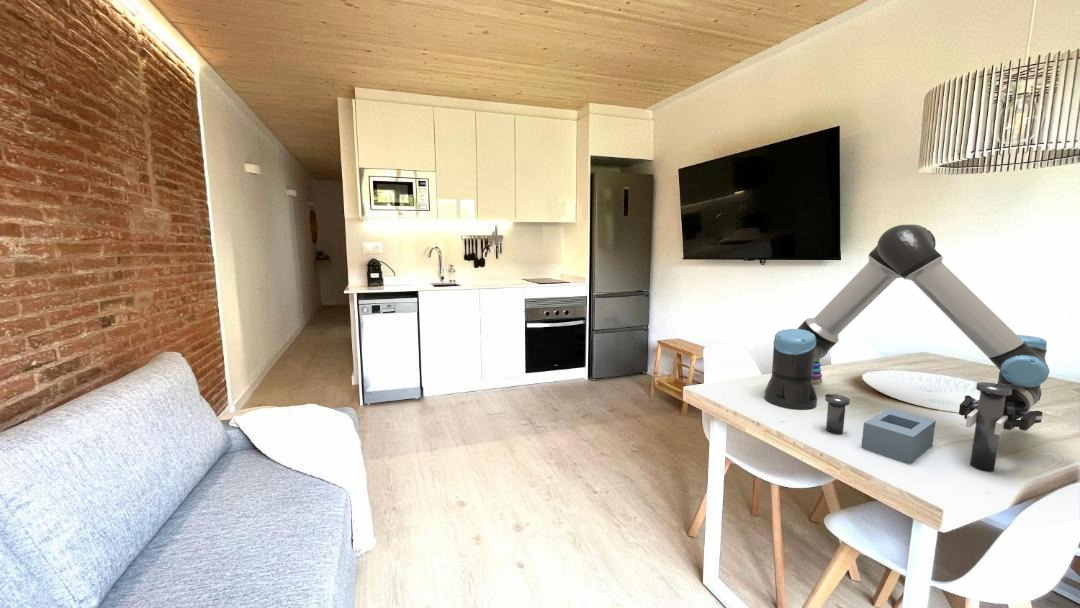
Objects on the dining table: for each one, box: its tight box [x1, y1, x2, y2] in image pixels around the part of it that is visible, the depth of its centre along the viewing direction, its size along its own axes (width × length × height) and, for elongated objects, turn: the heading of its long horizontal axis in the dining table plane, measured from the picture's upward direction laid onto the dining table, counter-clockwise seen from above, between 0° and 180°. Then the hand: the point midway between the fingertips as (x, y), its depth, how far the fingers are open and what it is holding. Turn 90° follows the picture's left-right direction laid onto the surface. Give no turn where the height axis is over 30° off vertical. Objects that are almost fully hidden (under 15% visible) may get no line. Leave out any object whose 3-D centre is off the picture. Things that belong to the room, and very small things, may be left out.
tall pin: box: [969, 381, 1012, 473], centre depth 100 cm, size 6×6×20 cm
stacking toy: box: [812, 359, 823, 385], centre depth 160 cm, size 8×8×19 cm
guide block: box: [861, 407, 937, 465], centre depth 111 cm, size 16×10×7 cm, turn 123°
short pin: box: [824, 393, 851, 435], centre depth 120 cm, size 6×6×10 cm
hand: (982, 425), depth 97 cm, fingers closed on tall pin, 4 cm apart
